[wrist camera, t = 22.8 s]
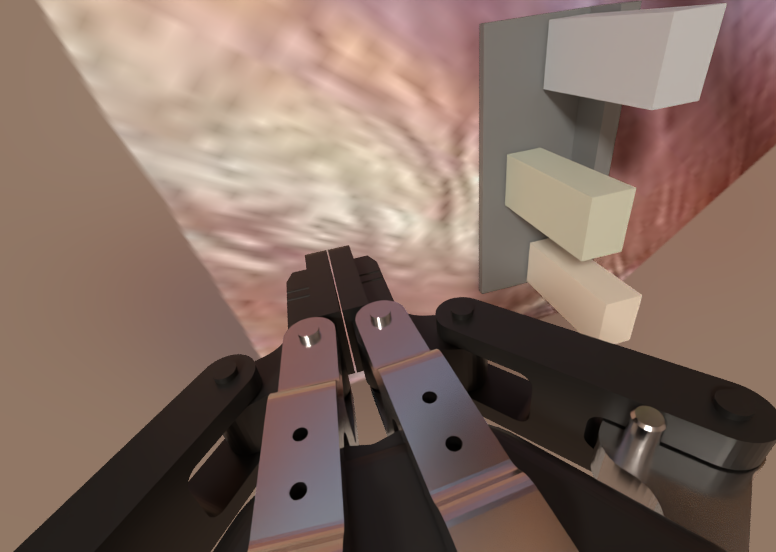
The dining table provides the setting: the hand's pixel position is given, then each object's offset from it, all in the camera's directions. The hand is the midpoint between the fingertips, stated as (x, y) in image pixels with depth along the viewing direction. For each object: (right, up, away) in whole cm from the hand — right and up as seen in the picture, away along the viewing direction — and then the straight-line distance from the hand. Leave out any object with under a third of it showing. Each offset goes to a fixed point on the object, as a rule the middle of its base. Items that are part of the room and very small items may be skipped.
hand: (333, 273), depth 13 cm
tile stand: (+19, +12, +33) cm, 40 cm away
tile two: (+17, +11, +31) cm, 38 cm away
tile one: (+23, +2, +38) cm, 45 cm away
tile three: (+20, +22, +25) cm, 39 cm away
